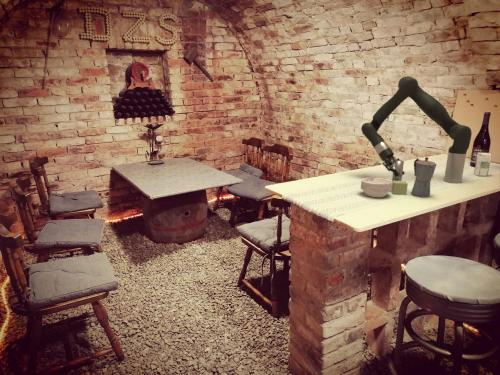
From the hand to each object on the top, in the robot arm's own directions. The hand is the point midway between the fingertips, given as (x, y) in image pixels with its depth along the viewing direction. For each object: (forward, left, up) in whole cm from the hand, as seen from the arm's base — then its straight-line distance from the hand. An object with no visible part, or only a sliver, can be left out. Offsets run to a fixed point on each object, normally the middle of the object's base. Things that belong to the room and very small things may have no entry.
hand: (400, 175), depth 199 cm
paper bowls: (+22, -17, -6) cm, 28 cm away
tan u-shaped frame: (+11, -4, -6) cm, 13 cm away
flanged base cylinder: (-1, -1, -6) cm, 6 cm away
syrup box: (-36, +58, -6) cm, 69 cm away
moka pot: (+17, +6, -6) cm, 19 cm away
